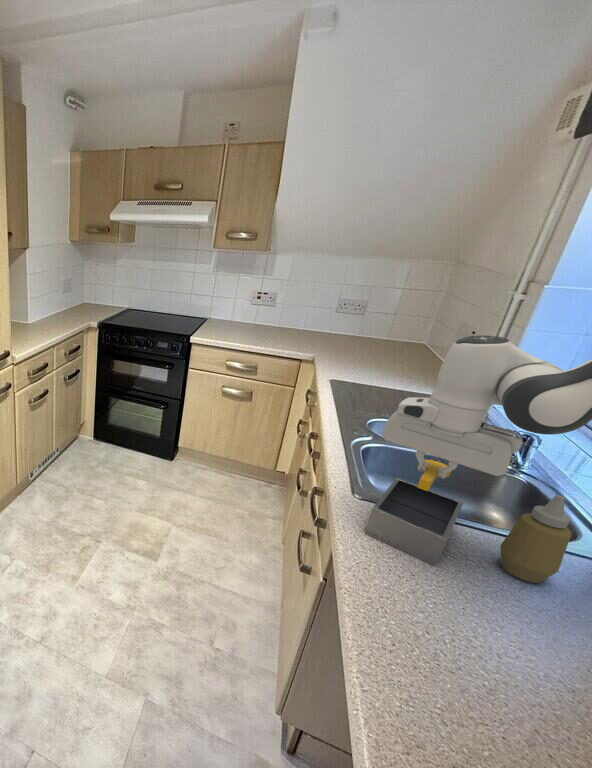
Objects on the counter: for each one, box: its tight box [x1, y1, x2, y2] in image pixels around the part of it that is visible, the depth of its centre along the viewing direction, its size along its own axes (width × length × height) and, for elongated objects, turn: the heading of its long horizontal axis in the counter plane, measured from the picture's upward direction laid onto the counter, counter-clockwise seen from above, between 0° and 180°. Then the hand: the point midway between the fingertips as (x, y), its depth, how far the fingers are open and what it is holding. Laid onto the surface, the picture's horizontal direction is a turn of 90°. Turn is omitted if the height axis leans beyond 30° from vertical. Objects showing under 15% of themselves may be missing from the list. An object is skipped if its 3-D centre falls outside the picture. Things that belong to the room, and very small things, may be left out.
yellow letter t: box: [417, 459, 452, 491], centre depth 89 cm, size 5×14×2 cm, turn 131°
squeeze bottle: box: [499, 494, 572, 584], centre depth 79 cm, size 8×8×18 cm
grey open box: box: [364, 477, 465, 567], centre depth 92 cm, size 19×13×7 cm
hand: (430, 473), depth 88 cm, fingers closed on yellow letter t, 2 cm apart
